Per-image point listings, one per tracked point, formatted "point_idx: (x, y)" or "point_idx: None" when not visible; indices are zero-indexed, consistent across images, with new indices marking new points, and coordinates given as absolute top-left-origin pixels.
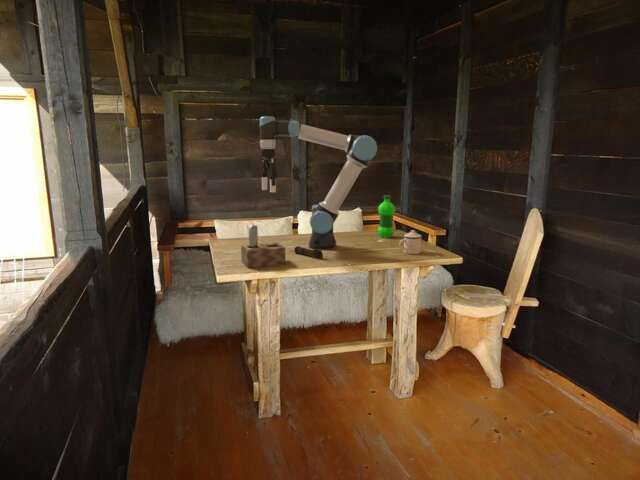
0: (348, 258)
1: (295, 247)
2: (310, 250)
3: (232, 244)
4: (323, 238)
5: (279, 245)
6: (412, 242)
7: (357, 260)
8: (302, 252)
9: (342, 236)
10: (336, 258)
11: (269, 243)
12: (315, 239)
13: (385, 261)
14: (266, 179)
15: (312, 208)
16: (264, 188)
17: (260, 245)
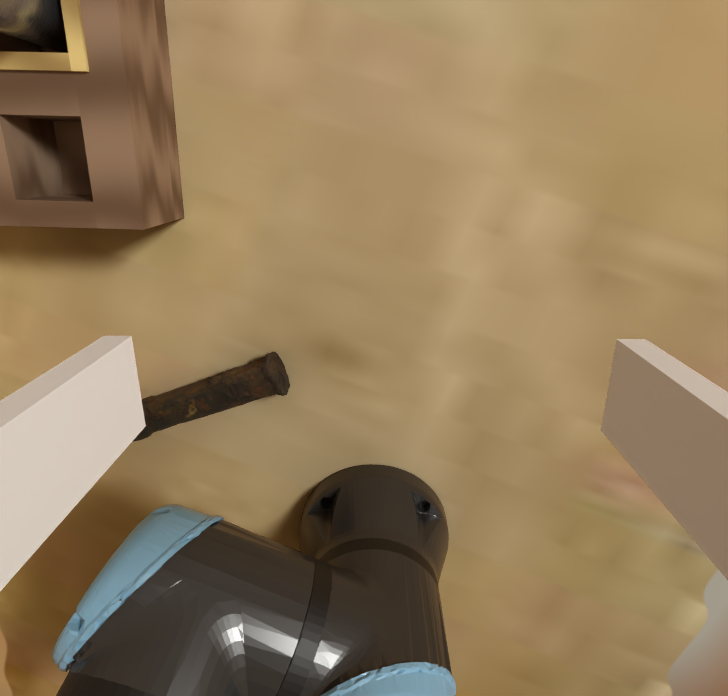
0: (102, 529)
1: (267, 364)
2: (162, 408)
3: (696, 45)
4: (309, 547)
5: (51, 212)
6: None
7: (58, 545)
8: (217, 375)
9: (551, 686)
10: (114, 485)
11: (128, 166)
12: (336, 511)
13: (21, 624)
14: (724, 553)
15: (379, 676)
16: (621, 388)
17: (74, 78)
